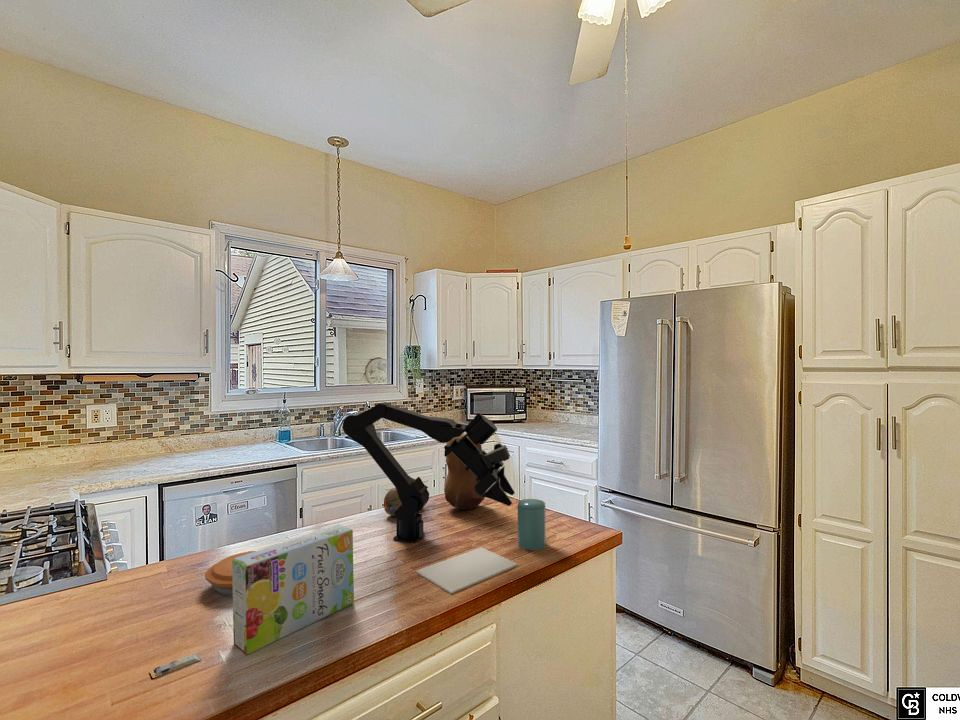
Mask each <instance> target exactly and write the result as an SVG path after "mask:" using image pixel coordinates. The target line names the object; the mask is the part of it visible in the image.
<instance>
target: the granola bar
mask: <svg viewBox="0 0 960 720" xmlns="http://www.w3.org/2000/svg"><path fill="white" fill-rule="evenodd" d="M201 660H202V659H201V658H200V657H199V655H198V653H194V654H193V653H191V654H189V655H187V656H183V657H180V658H178V659H175V660H173V661H171V662H168V663H165V664H163V665H160V666H157V667H155V668H154V669H152V670H153V671H154V673H155V676H158V675H161V674H164V673H166V674H168V673H167V672H169V671H171V672H173V671H172V670H174V669H176V670H178V669H177V668H179V667H181V668H183V667H182V666H184V667H186V666H185V665H187V666H189V665H191V663H192V664H194V663H195V662H196V663H197V661H198V662H201ZM188 664H189V665H188ZM179 669H180V668H179ZM174 671H175V670H174ZM169 673H170V672H169ZM164 675H165V674H164ZM161 676H162V675H161Z"/></svg>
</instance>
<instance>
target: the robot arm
mask: <svg viewBox="0 0 960 720" xmlns="http://www.w3.org/2000/svg"><path fill="white" fill-rule="evenodd" d="M382 419H385V420H386V421H390V422H393V423H397V424H399V425H403V426H406V427H408V428H411V429H414V430H418V431H420V432H422V433H424V434H425V435H426V436H428V437H429V438H432V439H433V440H435V441H436V442H438V443H442V444H445V445H444V447H443V449H444V454H443V456H444V457H445V458H446V456H447V455H449V454H450V453H451V452H452V453H453V454H454V455H455V456H456V457H457V458H458V459H459V460H460V461H461V462H462V463H463V464H464V465H465V466H466V467H465V470H466V471H468V470H469V471H470V472H471V473H472V474H473V475H474V476H475V477H476V481H477V483H476V484H475V492H476V493H477V494H478V495H479V496H481V495H482V494H483V495H482V496H483V497H485V498H487V499H490V500H493V501H495V502H498V503H501V504H503V505H505V506H508V507H510V506H511V505H512V504H513V501H512V500H511V499H510V498H509V496H508V495H510V496H513V495H515V491H514V489H513V487H512V485H511V484H510V482H509V480H508V478H507V477H506V475H505V462H506V461H508V460H510V457H511V454H510V452H509V450H508V449H509V448H508V447H507V446H506V444H504V445H503V444H501V442H498V443H496V444H494V445H493V450H491V451H489V452H488V453H487V452H486V451H485V450H483V449H482V451H480V450H479V449H478V448H477V447H476V446H475V445H474V444H473V443H475V444H476V445H477V444H479V443H480V444H481V446H482V445H484V444H485V443H486V442H487V441H488V440H489V439H490V438H492V436H493V435H494V434H495V433H496V432H497V431H498V428H497V426H496V424H494V422H493V421H492V420H491V419H489V418H488V417H486V416H485V415H483V414H482V413H481V412H478V413H477V414H476V415H475V416H473V419H472V420H471V421H470V422H468V424H462V423H457V422H456V421H455V420H454V419H452V418H448V417H447V418H446V417H439V416H427V415H424V414H422V413H418V412H415V411H412V410H409V409H405V408H403V407H399V406H397V405H392V404H391V403H389V402H384V401H383V402H379V403H377V404H375V405H374V406H373V407H371V408H369V409H366V410H364V411H363V412H357V413H354V414H350V415H348V416H346V417H345V418H344V419H343V422H342V426H341V428H342V431H343V432H344V434H345V435H346V436H347V437H348V438H350V439H351V440H352V441H353V442H354V443H357V444H359V445H360V446H362V447H363V448H364V449H365V451H366V452H367V453H368V454H369V456H371V458H372V459H373V460H374V461H375V464H377V466H378V467H379V468H380V470H382V472H383V474H384V475H385V476H386V477H387V478H388V479H389V481H390V482H391V484H392V485H393V486H394V488H396V490H397V494H398V497H399V500H400V501H401V503H402V505H401V506H400V507H399V508H398V509H397V510H396V511H395V512H394V514H395V516H394V517H395V519H396V525H395V526H396V533H395V534H396V535H395V536H394V537H393V538H392V539H393V540H394V541H400V542H404V543H405V542H407V543H413V544H414V543H417V541H418V540H420V539H421V538H422V537H423V536H425V532H424V520H423V513H420V512H421V511H422V509H423V508H424V507H425V506H426V505H427V503H428V502H429V500H430V492H429V490H428V489H429V487H428V485H426V484H425V483H424V482H423V480H422V478H421V477H420V476H417V477H416V478H415V479H414V478H413V477H411V476H410V475H409V474H408V473H407V472H406V470H405V469H404V468H403V467H402V465H401V464H400V463H399V462H398V460H397V459H396V458H395V456H393V454H392V453H391V452H390V450H389V449H388V448H387V447H386V445H385V444H384V443H383V441H382V440H381V439H380V438H379V436H378V434H377V430H376V426H375V425H374V423H376V422H378V421H380V420H382ZM463 433H467V434H466V435H465V436H464V437H463V438H462V439H461V440H460V439H458V438H456V439H455V440H454V441H453V442H452V443H451V444H450V445H446V443H447V442H449V441H450V440H452V439H453V438H454V437H459V436H461V435H462V434H463ZM467 436H468V437H469V438H470V440H471V441H472V442H473V443H472V442H471V441H470V440H469V439H468V438H467Z"/></svg>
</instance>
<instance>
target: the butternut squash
mask: <svg viewBox="0 0 960 720" xmlns="http://www.w3.org/2000/svg"><path fill="white" fill-rule="evenodd" d="M466 434H467V433H466V432H464V433H463V434H462V435H461V436H459V437H454V438H453V439H452V440H450V441H449V442H447V443H445V445H450V444H451V443H452V442H453V441H454V440H455V439H456V438H458V439H460V440H461V439H462V438H463V437H464V436H465V435H466ZM467 438H468V439H469V440H470V438H469V437H468V436H467ZM470 441H471V440H470ZM471 442H472V441H471ZM472 443H473V442H472ZM473 444H474V445H475V446H476V447H477V448H478V449H479V450H480V451H482V450H483V448H482V447H483V446H482V444H480V443H479V444H477V445H476V444H475V443H473ZM445 462H446V466H447V471H448V472H447V475H446V478H445V482H444V488H443V491H444V499H445V501H446V502H447V503H448V504H449V505H451V507H453V508H456V509H459V510H460V509H461V510H463V511H470V510H471V511H472V510H474V509H475V508H477V507H478V506H479V505H480V504H481V503H482V502H483V501H484V500H485V499H486V497H483V496H482V495H483V494H482V495H481V496H479V495H478V494H477V493H476V492H475V484H476V483H477V481H476V477H475V476H474V475H473V474H472V473H471V472H470V471H469V470H468V471H466V470H465V467H466V466H465V465H464V464H463V463H462V462H461V461H460V460H459V459H458V458H457V457H456V456H455V455H454V454H453V453H452V452H451V453H450V454H449V455H447V456H446V457H445Z"/></svg>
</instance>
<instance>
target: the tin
mask: <svg viewBox="0 0 960 720" xmlns="http://www.w3.org/2000/svg"><path fill="white" fill-rule="evenodd" d="M401 505H402V503H401V501H400V500H399V497H398V494H397V490H396V488H395V487H394V488H392V489H390V490H389V491H387V493H386V494H385V496H384V499H383V508H384V511H385V512H386V514H387V515H389V516H393V517H395V514H394V512H395V511H396V510H397V509H398V508H399V507H400V506H401Z"/></svg>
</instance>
